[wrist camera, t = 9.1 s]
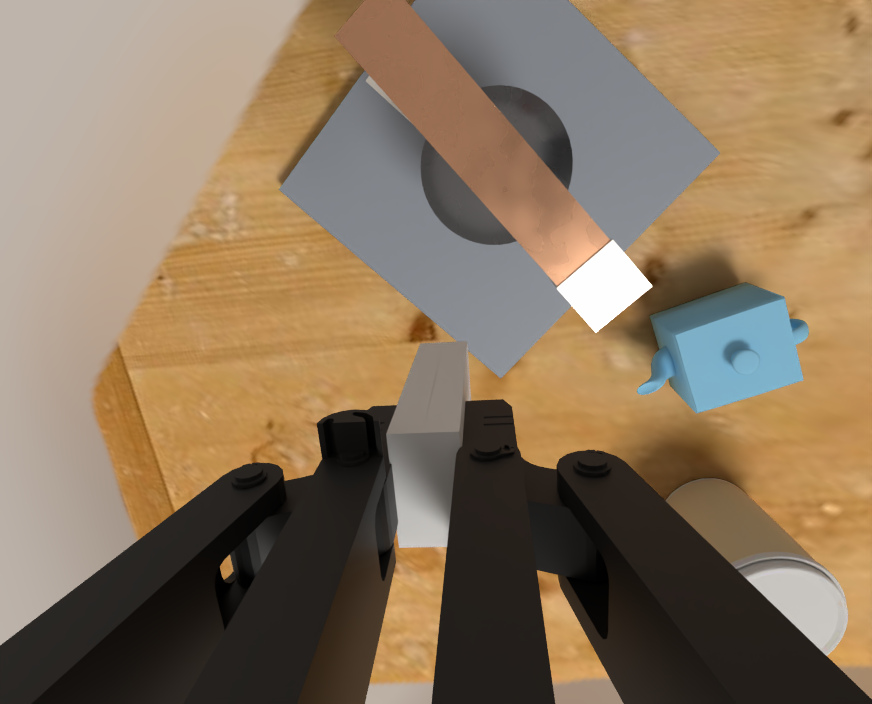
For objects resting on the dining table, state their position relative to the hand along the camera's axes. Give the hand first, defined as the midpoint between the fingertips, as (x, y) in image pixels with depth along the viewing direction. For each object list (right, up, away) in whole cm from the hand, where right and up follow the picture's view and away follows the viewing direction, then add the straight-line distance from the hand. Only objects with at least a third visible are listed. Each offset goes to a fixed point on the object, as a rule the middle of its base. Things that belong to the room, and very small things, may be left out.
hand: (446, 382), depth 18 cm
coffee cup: (+23, -13, +30) cm, 40 cm away
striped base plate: (+4, +14, +23) cm, 27 cm away
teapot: (+20, +2, +25) cm, 32 cm away
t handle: (+3, +12, +14) cm, 19 cm away
